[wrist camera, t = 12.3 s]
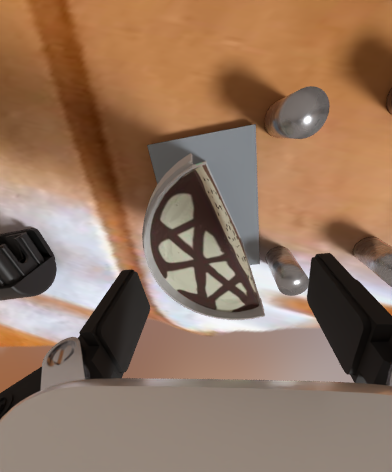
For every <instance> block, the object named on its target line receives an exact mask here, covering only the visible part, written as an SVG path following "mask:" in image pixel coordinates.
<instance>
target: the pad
mask: <svg viewBox="0 0 392 472" xmlns="http://www.w3.org/2000/svg"><path fill="white" fill-rule="evenodd" d="M147 146H148V150H149V154H150V158H151V161H152V165H153V169H154V173H155V177H156V181H157V184H158V183H159V182H160V180H161V179H162V178H163V176H164V175H165V174H166V173H167V172H168V171H169V170H170V169H171V168H172V167H173V166H174V165H175V164H176V163H177V162H178V161H180V160H181V159H183V158H184V157H186V156H187V155H189V154H190V153H191V154H192V161H193V165H195V164H198V163H201V162H205V161H206V162H207V164H208V167H209V169H210V171H211V173H212V175H213V178H214V180H215V182H216V184H217V186H218V189H219V191H220V193H221V195H222V197H223V200H224V202H225V204H226V206H227V208H228V211H229V213H230V215H231V217H232V219H233V222H234V224H235V226H236V228H237V230H238V233H239V235H240V237H241V239H242V242H243V246H244V249H245V252H246V255H247V259H248V262H249V265H254V264H260V258H259V224H258V191H257V157H256V124H254V125H249V126H244V127H238V128H233V129H228V130H223V131H218V132H213V133H208V134H202V135H197V136H192V137H187V138H182V139H177V140H171V141H166V142H161V143H156V144H151V145H147Z"/></svg>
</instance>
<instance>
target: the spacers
mask: <svg viewBox="0 0 392 472" xmlns="http://www.w3.org/2000/svg"><path fill="white" fill-rule="evenodd" d="M386 105H387V109H388V111H389V112H390V113H391V114H392V88H391V90H390V92H389V94H388V97H387V101H386ZM328 113H329V100H328V97H327V95H326V93H325V92H324V91H323V90H322V89H320V88H317V87H305V88H303V89H300V90H298V91H296V92H294V93H292V94H290V95H288V96H287V97H285V98H283V99H281V100H279V101H277V102H275V103H274V104H273V105H272V106H271V107H270V108H269V109H268V111H267V113H266V116H265V128H266V131H267V132H268V133H269V134H270V135H271V136H273V137H276V138H294V139H303V138H307V137H310V136H312V135H313V134H315V133H316V132H317V131H318V130H319V129H320V128H321V127H322V126H323V124H324V123H325V121H326V119H327V116H328ZM353 254H354V256H355V257H356V258H358V259H359V260H360V261H361V262H362V263H364V264H365V265H366V266H367V267H368V268H369V269H371V270H372V271H373V272H374V273H375V274H377V275H378V276H379V277H380V278H381V279H382V280H384V281H385V282H386V283H387V284H388V285H390V286H391V287H392V247H391V246H390V245H388V244H386V243H385V242H383V241H382V240H380V239H378V238H376V237H368V238H365V239H363V240H361V241H359V242H358V243H357V244H356V245H355V247H354V249H353ZM266 261H267V263H268V265H269V268H270V270H271V272H272V275H273V277H274V279H275V281H276V284H277V286H278V288H279V290H280V292H282V293H283V294H285V295H290V296H293V295H298V294H301V293H302V292H304V291H305V290H306V289H307V288H308V285H309V279H308V277H307V276H306V274H305V273H304V271H303V270H302V268H301V267H300V265H299V264H298V262H297V261H296V259H295V258H294V256H293V255H292V254H291V252H290V251H289V250H288V249H287V248H285V247H276V248H273V249H272V250H270V251H269V252H268V254H267V256H266Z"/></svg>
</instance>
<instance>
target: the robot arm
mask: <svg viewBox="0 0 392 472" xmlns="http://www.w3.org/2000/svg"><path fill="white" fill-rule="evenodd" d="M307 301H308V304H309V306H310V308H311V310H312V312H313V313H314V315H315V317H316V319H317V321H318V323H319V325H320V327H321V329H322V330H323V332H324V334H325V336H326V338H327V340H328V342H329V344H330V346H331V347H332V349H333V351H334V353H335V355H336V357H337V358H338V360H339V363H340V364H341V366H342V368H343V370H344V371H345V373H346V374H350V375H351V377H352V379H353V381H354V382H355V383H344V382H319V381H275V380H274V381H273V380H270V381H269V380H218V379H135V378H134V379H133V378H132V379H131V378H122V376H123V373H124V372H126V371H127V369H128V367H129V364H130V361H131V358H132V356H133V354H134V351H135V348H136V345H137V343H138V340H139V338H140V335H141V332H142V330H143V327H144V324H145V322H146V319H147V317H148V314H149V311H150V305H149V302H148V300H147V297H146V294H145V292H144V289H143V287H142V284H141V281H140V279H139V276H138V274H137V272H134V270H123V271H122V272H121V273H120V274H119V276H118V277H117V279H116V280H115V282H114V283H113V284H112V286H111V287H110V289H109V290H108V292H107V293H106V295H105V296H104V297H103V299H102V300H101V302H100V303H99V305H98V306H97V308H96V309H95V311H94V312H93V313H92V315H91V316H90V318H89V319H88V321H87V322H86V324H85V325H84V326H83V328H82V329H81V331H80V332H79V333H80V336H79V337H78V338H76V337H71V338H67V339H64V340H62V341H60V342H59V343H57V344H56V345H55V346H54V347H52V349H51V350H50V351H49V352H48V353H47V354H46V356H45V358H44V359H43V363H42V367H40V368H39V369H38V370H36V371H34V372H33V373H31V374H30V375H28V376H26V377H25V378H23V379H22V380H20V381H19V382H17V383H16V384H14V385H12V386H11V387H9V388H8V389H6V390H5V391H3V392H1V393H0V472H392V316H391V315H390V314H389V313H388V311H387V310H386V309H385V308H384V307H383V306H382V305H381V304H380V303H379V302H378V301H377V300H376V299H375V298H374V297H373V296H372V295H371V294H370V293H369V291H368V290H367V289H366V288H365V287H364V286H363V285H362V284H361V283H360V282H359V281H358V280H356V279H354V278H353V277H352V276H351V275H350V274H349V272H348V271H347V270H346V269H345V268H344V267H343V266H342V265H341V264H340V263H339V262H338V261H337V260H336V259H335V257H334V256H333V255H332V254H330V253H324V254H316V256H315V257H313V258H312V260H311V268H310V277H309V285H308V294H307Z"/></svg>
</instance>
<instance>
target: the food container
mask: <svg viewBox="0 0 392 472" xmlns="http://www.w3.org/2000/svg"><path fill="white" fill-rule="evenodd" d="M142 235H143V248H144V252H145V257H146V261H147V264H148V267H149V269H150V271H151V274H152V275H153V277H154V279H155V280H156V282H157V283H158V285H159V286H160V287H161V288H162V289H163V290H164V292H165V293H166V294H167V295H169V296H170V297H171V298H172V299H173V300H174V301H176V302H177V303H179V304H181V305H182V306H184V307H186V308H188V309H190V310H192V311H194V312H196V313H199V314H202V315H205V316H209V317H213V318H218V319H227V320H244V319H254V318H259V317H263V316H265V314H264V308H263V305H262V301H261V298H260V297H259V294H258V291H257V288H256V284H255V281H254V278H253V275H252V271H251V268H250V265H249V262H248V259H247V255H246V252H245V249H244V246H243V242H242V239H241V237H240V235H239V233H238V230H237V228H236V226H235V224H234V222H233V219H232V217H231V215H230V213H229V211H228V208H227V206H226V204H225V202H224V200H223V197H222V195H221V193H220V191H219V189H218V186H217V184H216V182H215V180H214V178H213V175H212V173H211V171H210V169H209V167H208V164H207V162H206V161H205V162H201V163H198V164H195V165H193V161H192V154H191V153H190V154H189V155H187V156H186V157H184V158H183V159H181V160H180V161H178V162H177V163H176V164H175V165H174V166H173V167H172V168H171V169H170V170H169V171H168V172H167V173H166V174H165V175H164V176H163V178H162V179H161V180H160V182H159V183H158V184H157V186H156V188H155V190H154V192H153V194H152V196H151V198H150V201H149V204H148V207H147V210H146V214H145V218H144V225H143V232H142Z"/></svg>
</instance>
